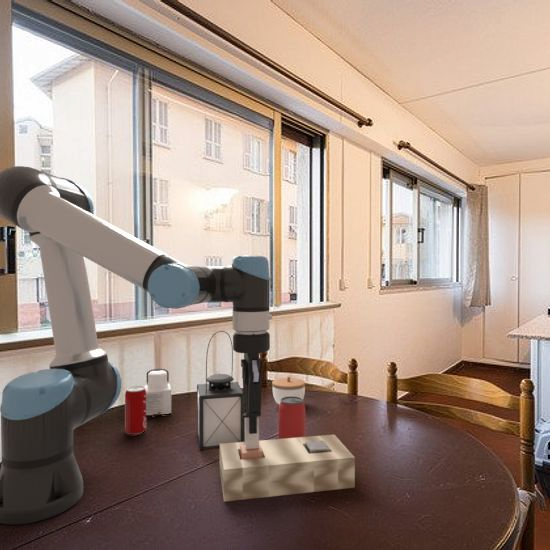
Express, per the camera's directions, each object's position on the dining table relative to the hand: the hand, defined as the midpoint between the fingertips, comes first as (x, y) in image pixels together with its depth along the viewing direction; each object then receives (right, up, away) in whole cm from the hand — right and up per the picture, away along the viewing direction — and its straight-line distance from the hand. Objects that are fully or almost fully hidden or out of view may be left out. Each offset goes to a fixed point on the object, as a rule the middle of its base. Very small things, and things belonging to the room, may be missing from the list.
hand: (251, 446), depth 84 cm
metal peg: (+14, -7, +3) cm, 15 cm away
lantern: (-9, -8, +22) cm, 25 cm away
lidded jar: (+9, -7, +49) cm, 51 cm away
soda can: (-33, -7, +27) cm, 43 cm away
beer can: (+9, -8, +16) cm, 20 cm away
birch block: (+7, -7, +1) cm, 10 cm away
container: (-31, -7, +43) cm, 54 cm away
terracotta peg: (0, -6, 0) cm, 6 cm away
